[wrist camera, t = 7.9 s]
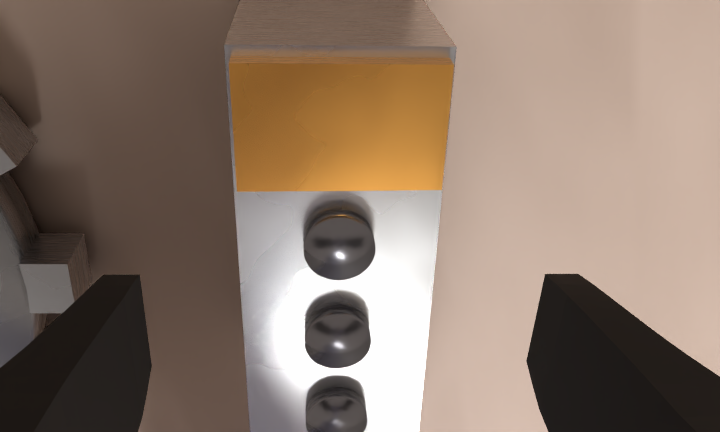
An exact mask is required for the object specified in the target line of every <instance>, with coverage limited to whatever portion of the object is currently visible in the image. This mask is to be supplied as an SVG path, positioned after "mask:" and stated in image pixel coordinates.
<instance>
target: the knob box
mask: <svg viewBox="0 0 720 432" xmlns="http://www.w3.org/2000/svg"><path fill="white" fill-rule="evenodd" d="M224 51H225V66H226V81H227V96H228V111H229V126H230V141H231V156H232V170H233V185H234V200H235V215H236V230H237V245H238V260H239V275H240V290H241V304H242V319H243V334H244V349H245V364H246V379H247V394H248V409H249V423H250V432H419V425H420V415H421V405H422V395H423V384H424V374H425V364H426V354H427V343H428V333H429V323H430V313H431V303H432V292H433V282H434V272H435V262H436V251H437V241H438V231H439V221H440V211H441V200H442V190H443V180H444V170H445V159H446V149H447V139H448V129H449V119H450V108H451V98H452V88H453V78H454V67H455V57H456V45H455V44H454V42H453V41H452V40H451V38H450V37H449V35H448V34H447V33H446V31H445V30H444V28H443V27H442V26H441V24H440V23H439V21H438V20H437V19H436V17H435V16H434V14H433V13H432V12H431V10H430V9H429V7H428V6H427V5H426V3H425V2H424V0H240V1H239V4H238V7H237V10H236V12H235V15H234V18H233V21H232V24H231V26H230V29H229V32H228V35H227V38H226V41H225V43H224Z"/></svg>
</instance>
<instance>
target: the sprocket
mask: <svg viewBox="0 0 720 432" xmlns="http://www.w3.org/2000/svg"><path fill="white" fill-rule="evenodd" d="M37 141H38V139H37V138H36V137H35V136H34V135H33V133H32V132H31V131H30V130H29V129H28V127H27V126H26V125H25V124H24V123H23V121H22V120H21V119H20V118H19V117H18V115H17V114H16V113H15V112H14V110H13V109H12V108H11V107H10V106H9V104H8V103H7V102H6V101H5V100H4V98H3V97H2V96H1V95H0V368H1V367H2V366H3V365H4V364H5V363H7V362H8V361H9V360H10V359H12V358H13V357H14V356H15V355H16V354H18V353H19V352H20V351H21V350H22V349H24V348H25V347H26V346H27V345H28V344H29V343H30V342H31V341H33V340H34V339H35V338H36V337H37V336H38V335H39V334H40V333H41V332H43V331H44V328H45V323H46V319H47V314H48V313H63V312H64V311H65V310H66V309H67V308H68V307H70V306H71V305H72V304H73V303H74V302H75V301H76V300H77V299H78V298H79V297H80V296H81V295H82V294H83V293H84V292H85V291H86V290H87V289H88V287H89V285H90V283H91V281H92V278H91V272H90V266H89V260H88V255H87V249H86V243H85V237H84V233H39V231H38V228H37V225H36V223H35V221H34V219H33V216H32V214H31V212H30V210H29V207H28V205H27V203H26V201H25V198H24V197H23V195H22V193H21V192H20V190H19V188H18V187H17V185H16V183H15V182H14V180H13V178H12V177H11V175H10V174H9V172H8V171H9V170H11V169H13V168H15V167H16V166H17V165H18V164H19V163H20V162H21V160H22V159H23V158H24V157H25V156H26V155H27V153H28V152H29V151H30V150H31V149H32V147H33V146H34V145H35V144H36V143H37Z"/></svg>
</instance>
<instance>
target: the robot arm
mask: <svg viewBox="0 0 720 432" xmlns="http://www.w3.org/2000/svg"><path fill="white" fill-rule="evenodd" d="M527 365H528V369H529V373H530V377H531V380H532V384H533V388H534V392H535V395H536V399H537V402H538V406H539V409H540V412H541V414H542V417H543V419H544V422H545V424H546V427H547V429H548V432H720V377H719V376H718V375H716V374H715V373H713V372H712V371H710V370H709V369H707V368H706V367H704V366H703V365H701V364H700V363H699V362H697V361H696V360H694V359H693V358H691V357H690V356H688V355H687V354H685V353H684V352H682V351H681V350H680V349H678V348H677V347H675V346H674V345H673V344H671V343H670V342H668V341H667V340H666V339H664V338H663V337H662V336H660V335H659V334H658V333H656V332H655V331H654V330H652V329H651V328H650V327H648V326H647V325H646V324H644V323H643V322H642V321H640V320H639V319H638V318H636V317H635V316H634V315H632V314H631V313H630V312H629V311H627V310H626V309H625V308H623V307H622V306H621V305H619V304H618V303H617V302H616V301H614V300H613V299H612V298H610V297H609V296H608V295H606V294H605V293H604V292H602V291H601V290H600V289H599V288H597V287H596V286H594V285H593V284H592V283H590V282H589V281H588V280H586V279H585V278H583V277H582V276H580V275H579V274H545V278H544V282H543V287H542V292H541V296H540V301H539V306H538V310H537V315H536V320H535V324H534V329H533V333H532V338H531V343H530V347H529V352H528V357H527ZM150 372H151V358H150V350H149V343H148V335H147V328H146V320H145V312H144V305H143V297H142V290H141V282H140V275H103V276H102V277H101V278H100V279H98V280H97V281H96V282H95V283H94V284H93V285H92V286H91V287H90V288H89V289H87V290H86V291H85V292H84V293H83V294H82V295H81V296H80V297H79V298H78V299H77V300H76V301H75V302H74V303H73V304H72V305H71V306H70V307H68V308H67V309H66V310H65V311H64V312H63V313H62V314H61V315H60V316H59V317H58V318H57V319H56V320H55V321H54V322H53V323H51V324H50V325H49V326H48V327H47V328H46V329H45V330H44V331H43V332H41V333H40V334H39V335H38V336H37V337H36V338H35V339H34V340H33V341H31V342H30V343H29V344H28V345H27V346H26V347H25V348H24V349H22V350H21V351H20V352H19V353H18V354H16V355H15V356H14V357H13V358H12V359H10V360H9V361H8V362H7V363H5V364H4V365H3V366H2V367H1V368H0V432H138V429H139V426H140V423H141V420H142V415H143V410H144V405H145V400H146V395H147V389H148V383H149V378H150Z"/></svg>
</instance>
